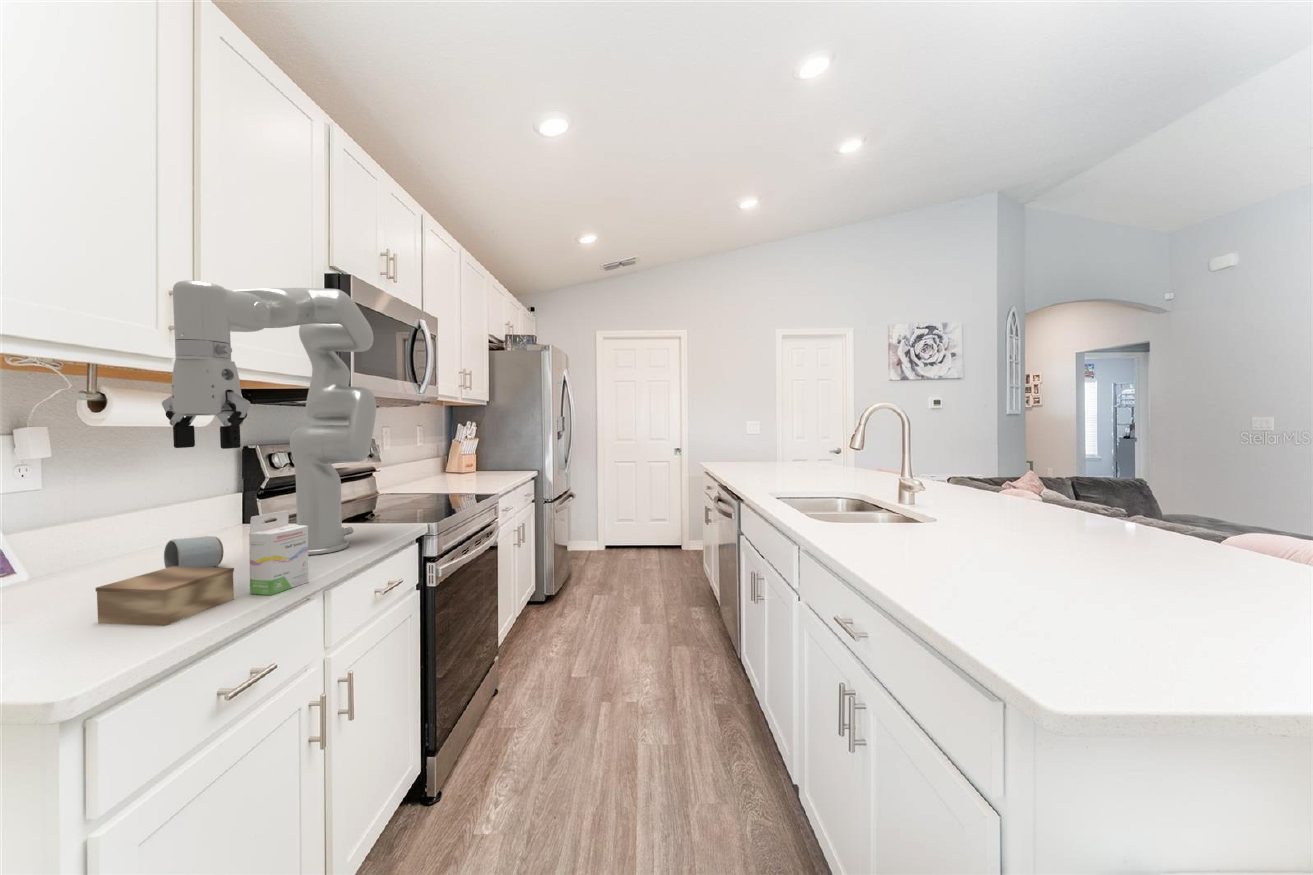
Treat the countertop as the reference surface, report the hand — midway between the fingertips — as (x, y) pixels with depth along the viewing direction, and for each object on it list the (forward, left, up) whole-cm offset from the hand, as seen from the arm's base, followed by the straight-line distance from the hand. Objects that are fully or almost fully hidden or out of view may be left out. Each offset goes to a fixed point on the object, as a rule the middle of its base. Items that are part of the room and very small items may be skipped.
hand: (207, 447), depth 92 cm
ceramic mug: (-16, -22, -28) cm, 39 cm away
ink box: (-8, +7, -28) cm, 30 cm away
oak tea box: (+5, -2, -28) cm, 29 cm away
